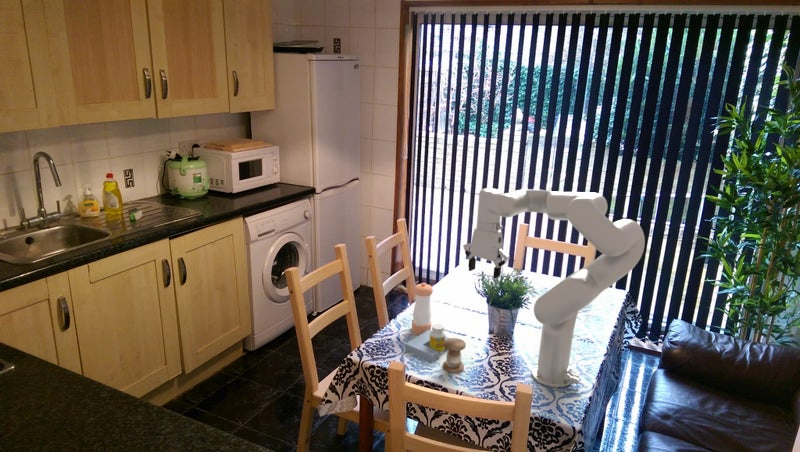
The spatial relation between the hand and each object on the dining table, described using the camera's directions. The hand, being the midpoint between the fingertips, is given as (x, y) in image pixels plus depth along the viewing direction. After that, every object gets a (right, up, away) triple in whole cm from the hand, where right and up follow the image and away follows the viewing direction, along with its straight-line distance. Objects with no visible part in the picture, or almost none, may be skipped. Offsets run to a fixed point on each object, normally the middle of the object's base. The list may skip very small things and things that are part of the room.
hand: (483, 273), depth 184 cm
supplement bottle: (-16, -28, +5) cm, 32 cm away
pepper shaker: (-21, -23, +19) cm, 37 cm away
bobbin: (-11, -31, -5) cm, 33 cm away
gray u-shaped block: (-18, -27, +6) cm, 33 cm away
